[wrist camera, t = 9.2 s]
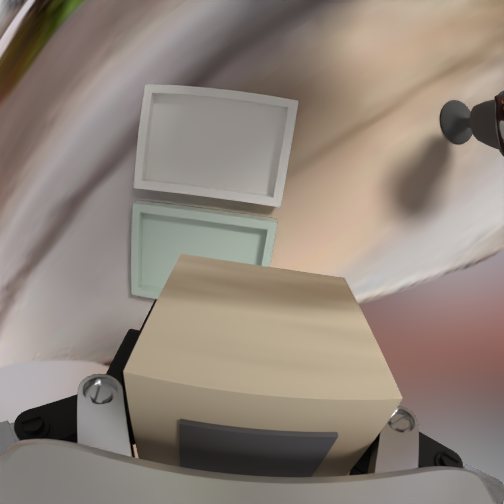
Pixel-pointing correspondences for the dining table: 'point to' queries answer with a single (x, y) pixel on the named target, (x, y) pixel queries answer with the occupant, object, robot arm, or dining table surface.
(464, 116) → the sundae
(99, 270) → the dining table surface
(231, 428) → the light wooden cube
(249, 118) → the tray white
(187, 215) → the tray sage
